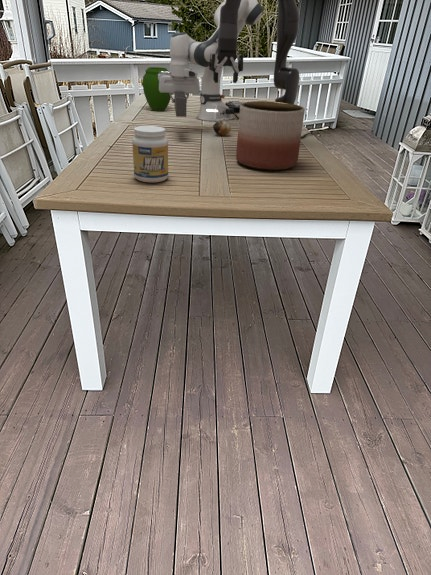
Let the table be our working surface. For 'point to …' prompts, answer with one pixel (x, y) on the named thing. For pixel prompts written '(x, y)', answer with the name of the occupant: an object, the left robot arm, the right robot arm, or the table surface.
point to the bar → (180, 104)
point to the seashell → (222, 127)
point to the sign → (234, 105)
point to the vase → (154, 89)
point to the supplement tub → (150, 154)
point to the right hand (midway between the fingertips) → (225, 82)
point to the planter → (269, 134)
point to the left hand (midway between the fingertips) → (179, 102)
